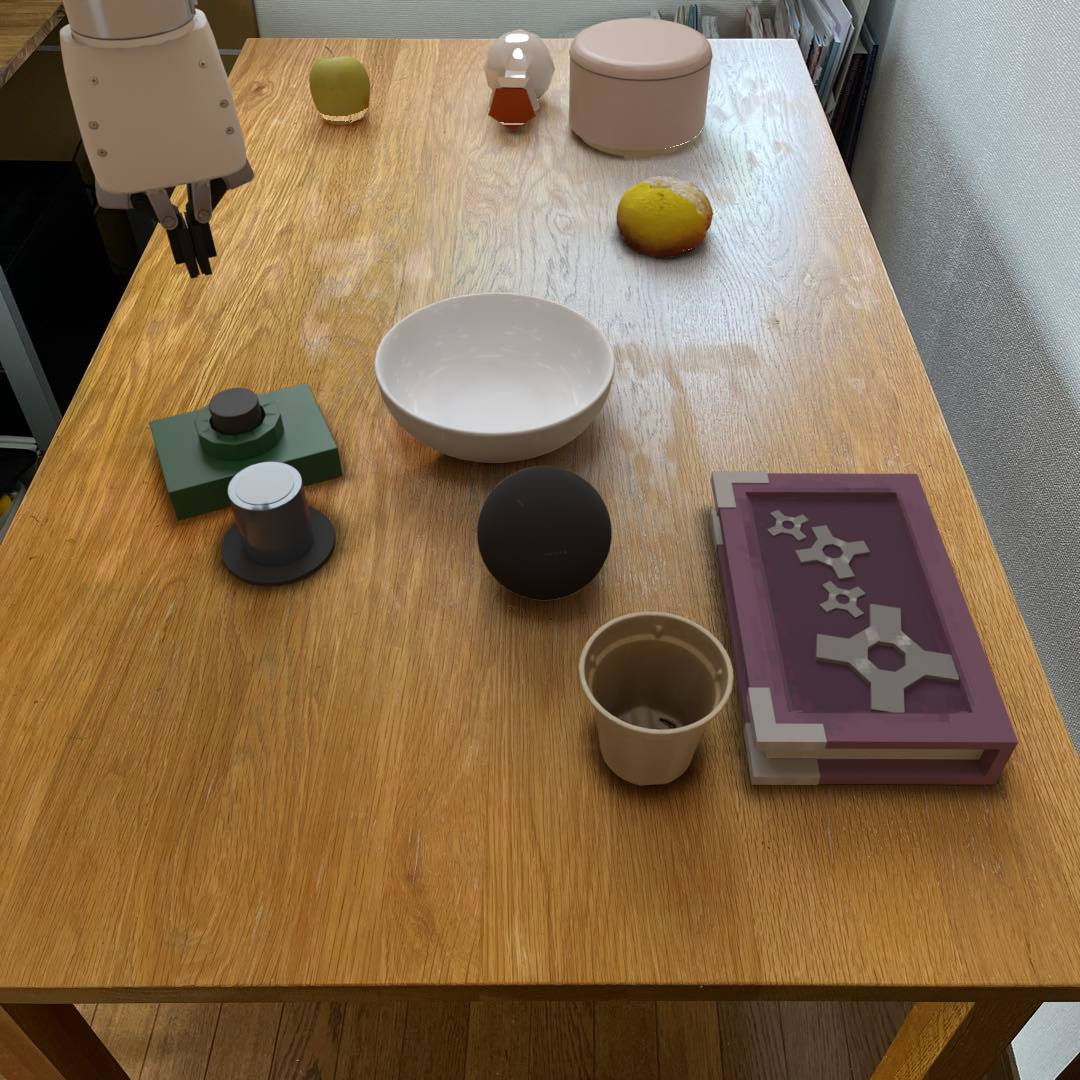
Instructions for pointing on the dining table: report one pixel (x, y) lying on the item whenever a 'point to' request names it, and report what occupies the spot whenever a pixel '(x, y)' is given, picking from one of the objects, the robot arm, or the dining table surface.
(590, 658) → the flower pot
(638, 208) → the fruit
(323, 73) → the apple
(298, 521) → the tumbler
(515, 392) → the serving bowl
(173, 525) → the dining table surface
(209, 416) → the green base stand
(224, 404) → the dark grey short cylinder
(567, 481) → the speaker
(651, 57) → the container
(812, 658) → the book
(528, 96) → the potion bottle
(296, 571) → the coaster
